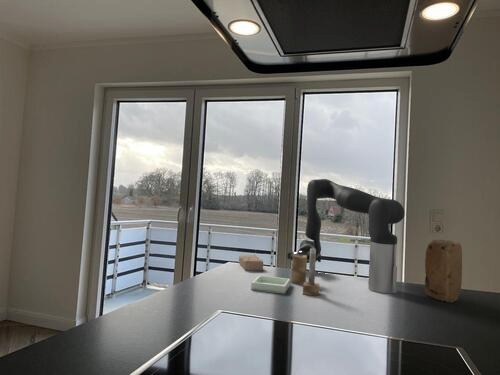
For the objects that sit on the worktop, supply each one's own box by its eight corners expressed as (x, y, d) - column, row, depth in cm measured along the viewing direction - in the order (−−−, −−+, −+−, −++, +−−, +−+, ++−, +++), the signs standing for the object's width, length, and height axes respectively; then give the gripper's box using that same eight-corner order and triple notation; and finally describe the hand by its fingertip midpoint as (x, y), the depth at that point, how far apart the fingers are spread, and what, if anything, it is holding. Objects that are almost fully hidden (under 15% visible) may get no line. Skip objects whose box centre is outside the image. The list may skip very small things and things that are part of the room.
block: (463, 303, 119) (465, 242, 119) (446, 304, 116) (448, 242, 117) (436, 294, 129) (438, 238, 129) (420, 295, 126) (422, 238, 127)
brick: (238, 263, 167) (238, 253, 168) (255, 263, 169) (256, 253, 169) (244, 271, 151) (244, 260, 151) (263, 272, 153) (264, 261, 153)
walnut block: (305, 281, 138) (307, 255, 138) (304, 284, 133) (305, 257, 134) (293, 279, 140) (294, 254, 140) (291, 282, 135) (292, 255, 135)
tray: (290, 285, 130) (290, 278, 130) (284, 293, 119) (285, 286, 119) (259, 282, 133) (259, 275, 133) (251, 289, 122) (251, 282, 122)
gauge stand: (318, 292, 123) (321, 248, 123) (317, 296, 118) (320, 250, 119) (304, 290, 124) (306, 247, 125) (302, 294, 120) (304, 249, 120)
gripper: (291, 243, 165) (286, 248, 149) (323, 246, 161) (320, 251, 146) (290, 259, 165) (285, 266, 149) (322, 263, 161) (319, 270, 146)
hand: (302, 259), depth 148 cm, fingers open, 8 cm apart
